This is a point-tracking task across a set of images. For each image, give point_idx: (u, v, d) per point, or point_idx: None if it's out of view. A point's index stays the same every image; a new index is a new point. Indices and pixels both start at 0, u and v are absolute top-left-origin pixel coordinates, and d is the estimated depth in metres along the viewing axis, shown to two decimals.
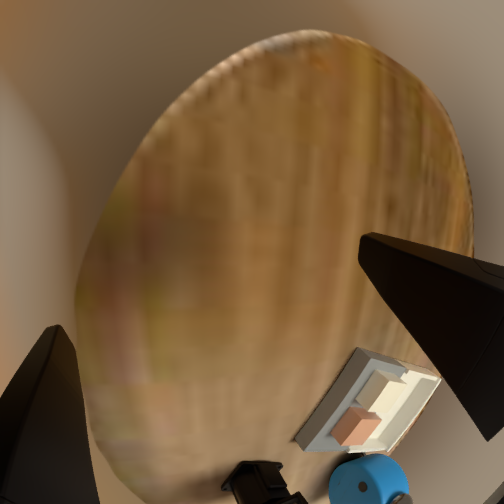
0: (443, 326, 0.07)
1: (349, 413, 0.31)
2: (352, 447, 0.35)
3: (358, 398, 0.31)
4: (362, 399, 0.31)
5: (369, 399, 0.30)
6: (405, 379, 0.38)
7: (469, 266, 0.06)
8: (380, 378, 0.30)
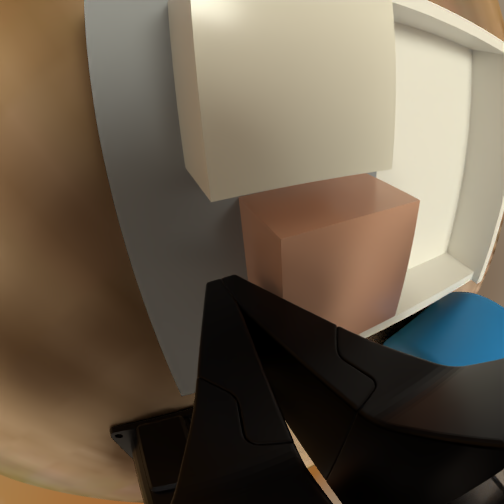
0: (294, 407, 0.06)
1: (248, 227, 0.08)
2: None
3: (186, 159, 0.07)
4: (189, 152, 0.06)
5: (194, 134, 0.05)
6: (427, 65, 0.10)
7: (320, 342, 0.05)
8: (177, 4, 0.04)
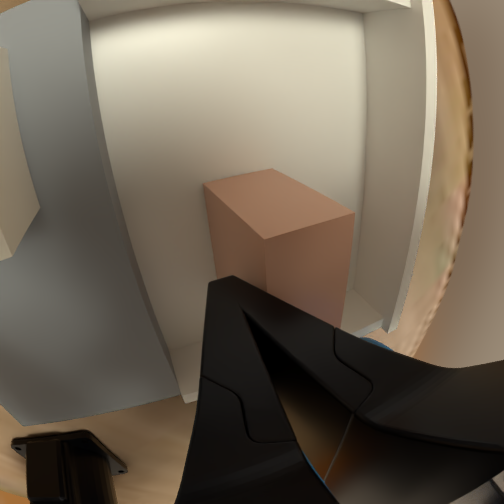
0: (292, 409, 0.06)
1: (288, 257, 0.07)
2: None
3: None
4: None
5: None
6: (259, 48, 0.08)
7: (317, 344, 0.05)
8: None
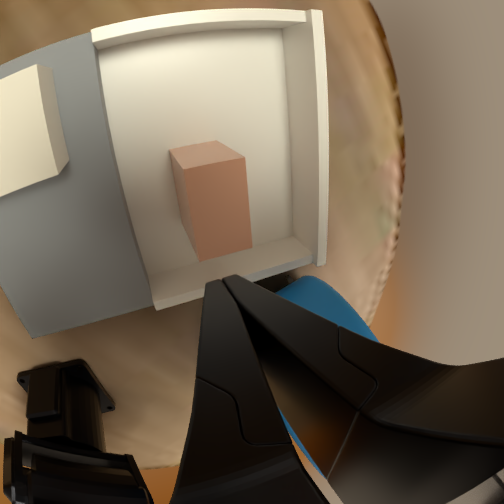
0: (295, 407, 0.06)
1: (199, 181, 0.12)
2: (168, 291, 0.16)
3: None
4: None
5: None
6: (204, 62, 0.13)
7: (321, 342, 0.05)
8: None
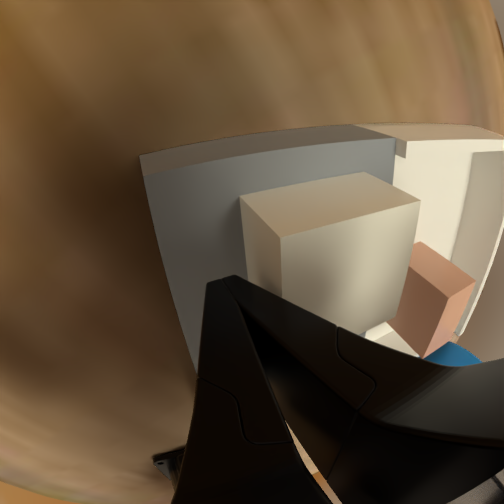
0: (294, 407, 0.06)
1: (451, 304, 0.12)
2: None
3: None
4: None
5: None
6: (431, 169, 0.14)
7: (320, 342, 0.05)
8: (259, 231, 0.07)
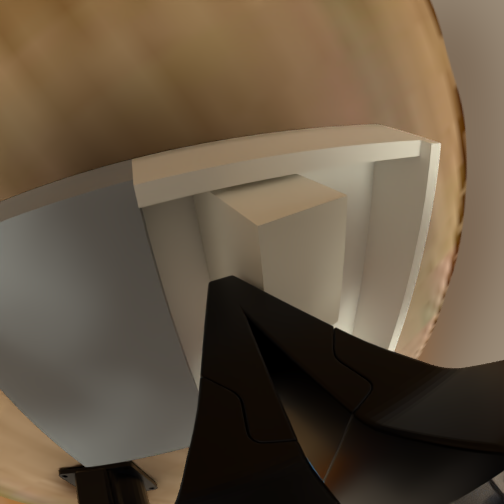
0: (291, 409, 0.06)
1: None
2: None
3: None
4: None
5: (320, 306, 0.09)
6: None
7: (317, 344, 0.05)
8: (309, 225, 0.07)
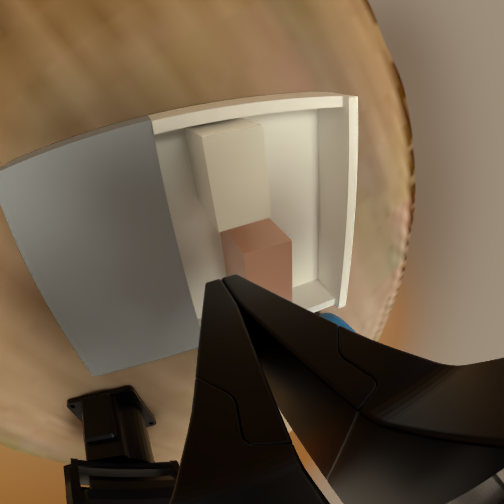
0: (295, 407, 0.06)
1: (255, 262, 0.15)
2: None
3: (226, 224, 0.14)
4: (236, 214, 0.13)
5: (253, 199, 0.13)
6: None
7: (321, 342, 0.05)
8: (236, 140, 0.12)
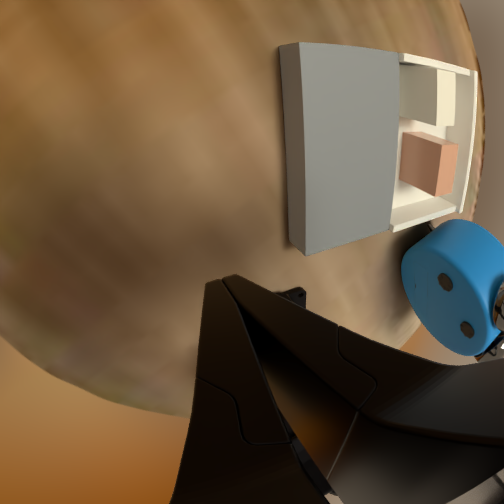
0: (295, 407, 0.06)
1: (445, 152, 0.19)
2: (397, 220, 0.24)
3: (439, 122, 0.18)
4: (443, 118, 0.18)
5: (449, 111, 0.18)
6: None
7: (321, 342, 0.05)
8: (447, 76, 0.16)
